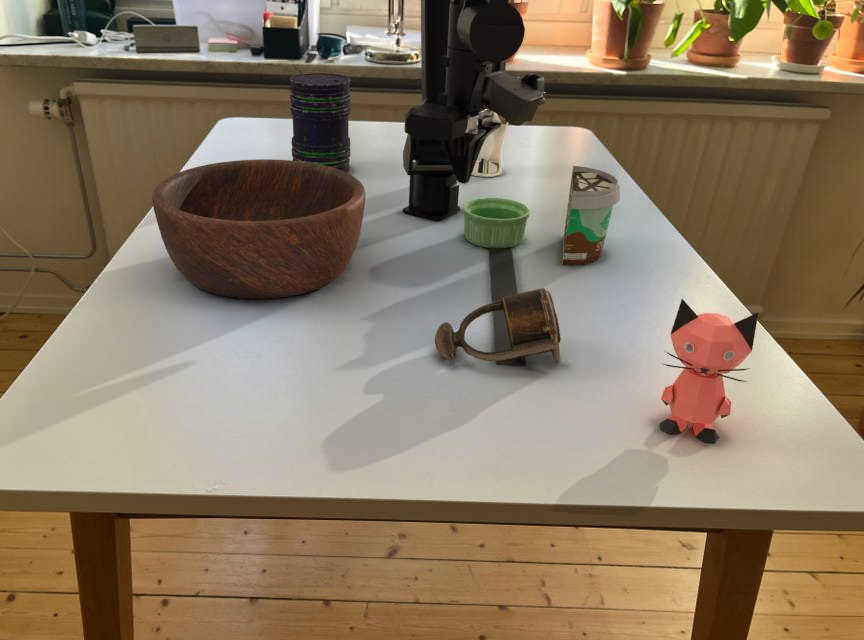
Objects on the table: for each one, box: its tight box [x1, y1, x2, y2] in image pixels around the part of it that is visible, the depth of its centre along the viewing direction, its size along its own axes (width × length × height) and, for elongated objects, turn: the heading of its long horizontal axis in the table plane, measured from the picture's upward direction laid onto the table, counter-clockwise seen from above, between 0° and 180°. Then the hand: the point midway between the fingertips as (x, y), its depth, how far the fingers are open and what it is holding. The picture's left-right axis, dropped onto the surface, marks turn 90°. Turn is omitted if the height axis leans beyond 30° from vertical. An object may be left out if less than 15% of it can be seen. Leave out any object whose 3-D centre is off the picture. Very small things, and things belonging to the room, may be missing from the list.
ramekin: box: [462, 197, 531, 249], centre depth 111 cm, size 9×9×4 cm
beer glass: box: [471, 111, 509, 178], centre depth 136 cm, size 7×7×15 cm
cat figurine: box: [658, 298, 759, 444], centre depth 70 cm, size 7×7×12 cm
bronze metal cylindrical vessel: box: [434, 287, 562, 365], centre depth 82 cm, size 7×13×10 cm
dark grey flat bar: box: [488, 247, 527, 367], centre depth 98 cm, size 38×3×1 cm, turn 175°
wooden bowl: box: [151, 158, 367, 300], centre depth 99 cm, size 25×25×10 cm
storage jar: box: [289, 72, 352, 174], centre depth 135 cm, size 10×10×15 cm
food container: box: [561, 165, 621, 266], centre depth 106 cm, size 12×6×10 cm, turn 168°
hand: (463, 182), depth 100 cm, fingers closed
